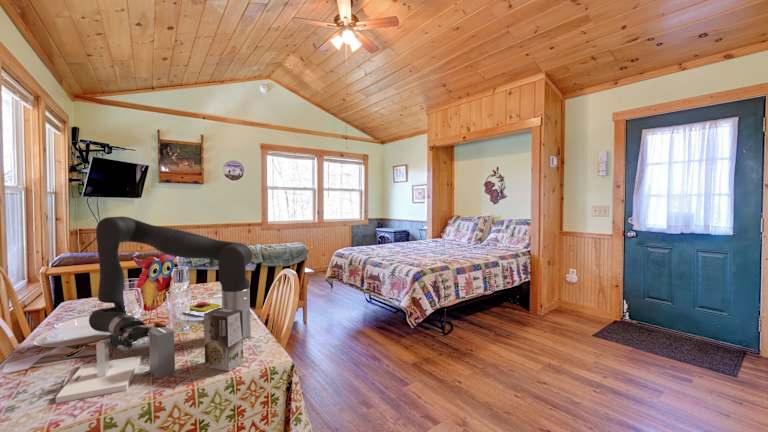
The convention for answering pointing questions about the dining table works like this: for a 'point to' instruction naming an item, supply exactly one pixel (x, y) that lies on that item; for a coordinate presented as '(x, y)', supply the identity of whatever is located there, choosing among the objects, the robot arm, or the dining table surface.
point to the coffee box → (223, 338)
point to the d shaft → (102, 358)
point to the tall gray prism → (162, 352)
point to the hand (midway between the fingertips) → (147, 340)
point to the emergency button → (203, 306)
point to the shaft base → (99, 380)
